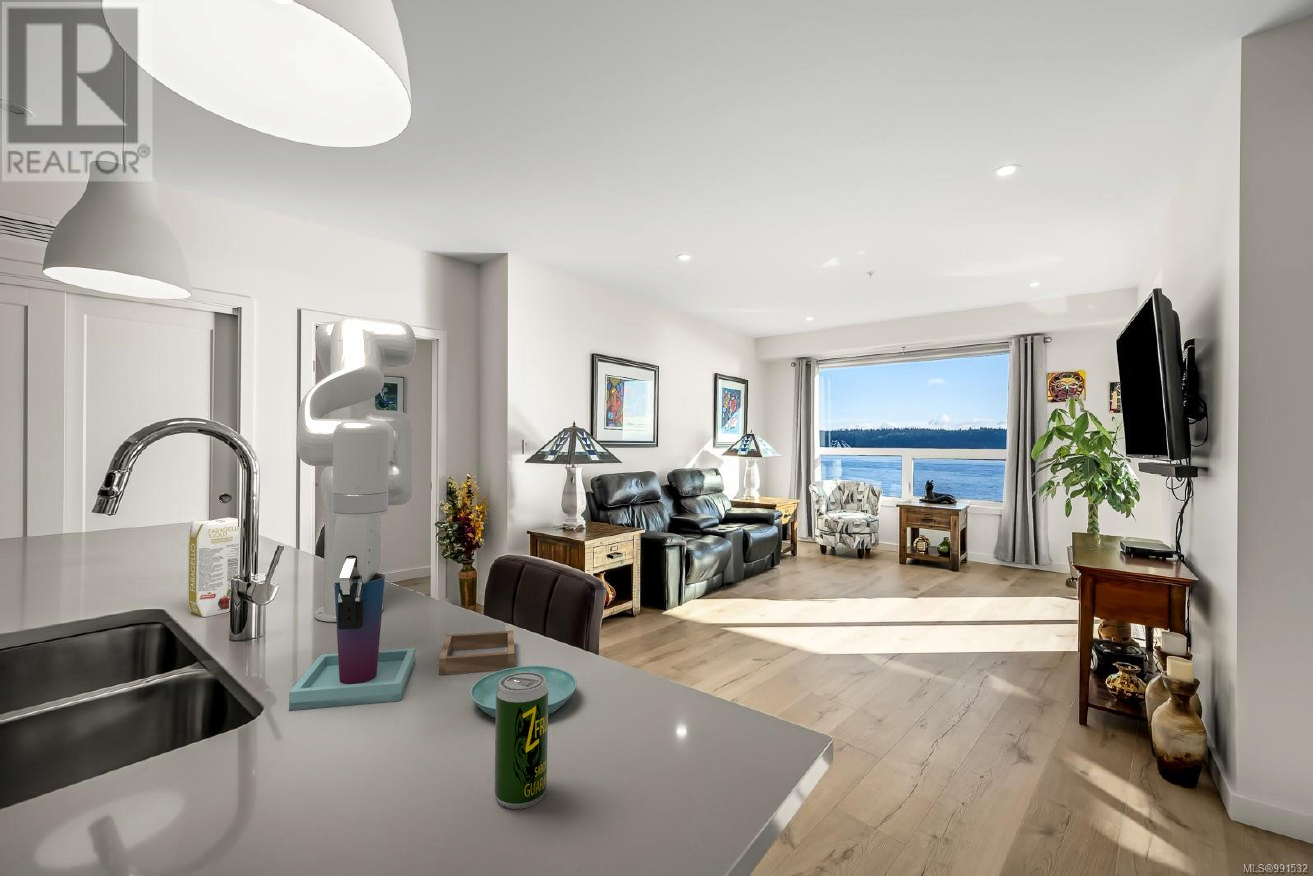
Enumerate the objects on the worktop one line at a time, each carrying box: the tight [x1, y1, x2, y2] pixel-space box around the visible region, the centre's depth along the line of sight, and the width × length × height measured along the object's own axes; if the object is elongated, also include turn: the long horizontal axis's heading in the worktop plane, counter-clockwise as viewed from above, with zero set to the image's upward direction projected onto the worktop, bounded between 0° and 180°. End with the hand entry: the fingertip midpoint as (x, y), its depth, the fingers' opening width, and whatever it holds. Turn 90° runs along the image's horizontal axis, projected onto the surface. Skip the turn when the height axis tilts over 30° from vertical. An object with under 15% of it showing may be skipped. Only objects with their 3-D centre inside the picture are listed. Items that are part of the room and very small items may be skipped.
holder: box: [438, 630, 515, 676], centre depth 100 cm, size 12×12×2 cm
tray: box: [288, 647, 416, 712], centre depth 89 cm, size 14×14×2 cm
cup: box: [334, 572, 386, 684], centre depth 89 cm, size 7×7×15 cm
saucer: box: [469, 665, 578, 719], centre depth 84 cm, size 15×15×3 cm
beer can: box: [494, 672, 549, 810], centre depth 62 cm, size 5×5×12 cm
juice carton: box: [187, 517, 239, 618], centre depth 123 cm, size 8×9×19 cm
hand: (358, 617), depth 89 cm, fingers open, 9 cm apart
